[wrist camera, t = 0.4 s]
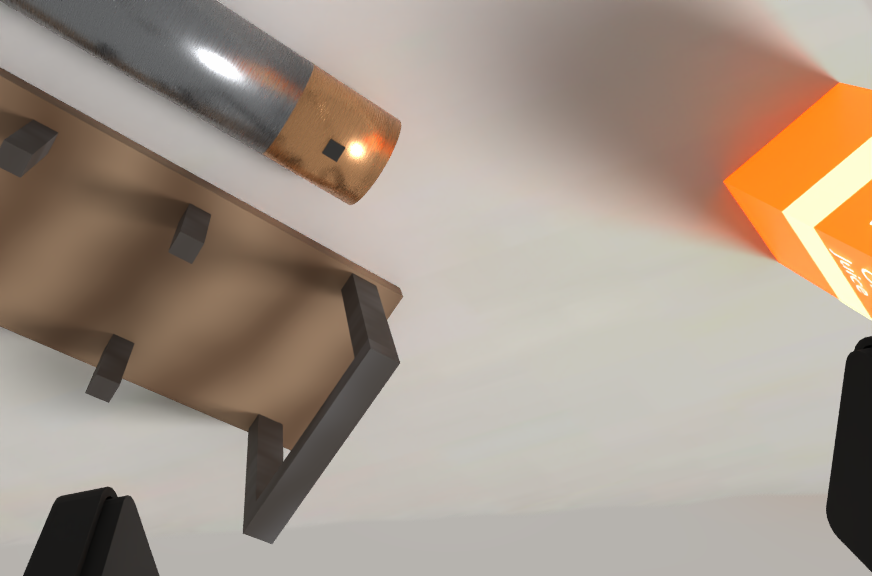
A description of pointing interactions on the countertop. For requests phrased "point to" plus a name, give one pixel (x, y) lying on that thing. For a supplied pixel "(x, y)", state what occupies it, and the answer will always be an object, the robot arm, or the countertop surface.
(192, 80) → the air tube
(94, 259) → the board
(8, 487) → the countertop surface
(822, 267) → the orange juice
